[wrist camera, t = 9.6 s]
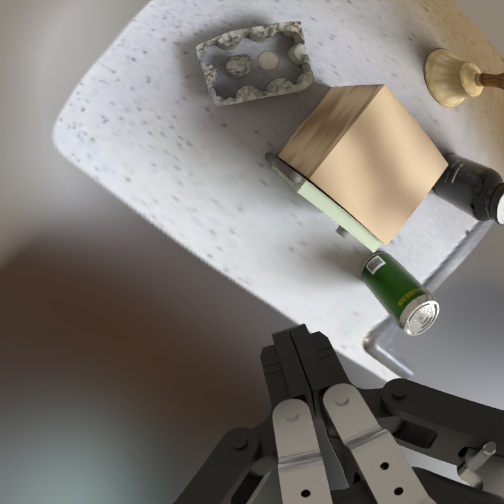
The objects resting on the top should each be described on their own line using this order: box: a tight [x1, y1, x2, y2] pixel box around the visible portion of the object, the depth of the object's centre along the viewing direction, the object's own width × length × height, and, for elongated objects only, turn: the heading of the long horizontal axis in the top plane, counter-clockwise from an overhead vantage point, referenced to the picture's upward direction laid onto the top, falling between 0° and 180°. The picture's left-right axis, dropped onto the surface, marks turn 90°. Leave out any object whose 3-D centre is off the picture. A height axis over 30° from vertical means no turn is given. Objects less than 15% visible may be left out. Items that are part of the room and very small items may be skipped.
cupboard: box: [265, 84, 448, 246], centre depth 28 cm, size 11×11×11 cm
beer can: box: [362, 252, 439, 336], centre depth 36 cm, size 5×5×12 cm
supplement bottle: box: [434, 154, 504, 225], centre depth 31 cm, size 7×7×12 cm
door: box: [271, 165, 382, 253], centre depth 30 cm, size 2×10×10 cm, turn 53°
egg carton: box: [195, 21, 314, 106], centre depth 26 cm, size 11×8×4 cm
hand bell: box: [424, 49, 504, 107], centre depth 23 cm, size 8×8×16 cm
